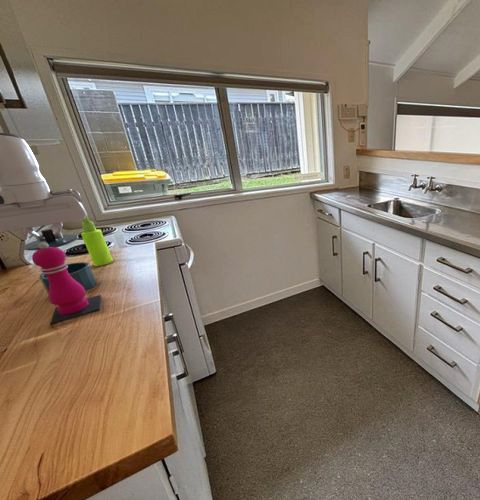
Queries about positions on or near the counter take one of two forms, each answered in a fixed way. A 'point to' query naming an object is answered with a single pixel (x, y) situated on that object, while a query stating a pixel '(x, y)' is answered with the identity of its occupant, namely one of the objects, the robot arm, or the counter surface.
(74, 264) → the pot
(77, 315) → the mat
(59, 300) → the pepper mill
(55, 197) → the robot arm
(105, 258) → the soap dispenser
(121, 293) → the counter surface
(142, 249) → the counter surface
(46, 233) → the lid
